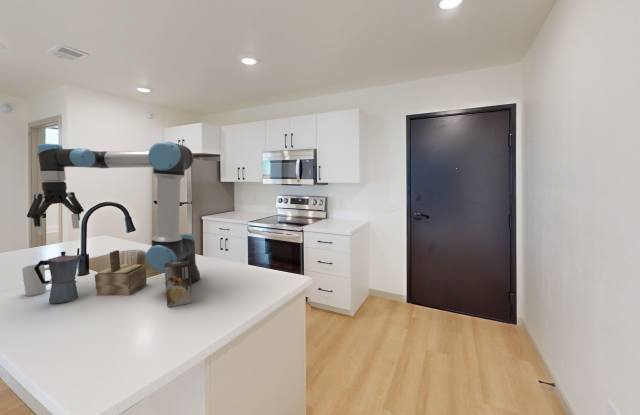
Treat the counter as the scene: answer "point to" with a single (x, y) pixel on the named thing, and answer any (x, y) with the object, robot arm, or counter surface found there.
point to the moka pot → (61, 277)
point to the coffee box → (178, 283)
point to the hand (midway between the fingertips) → (59, 231)
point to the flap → (118, 265)
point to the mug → (34, 280)
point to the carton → (120, 282)
